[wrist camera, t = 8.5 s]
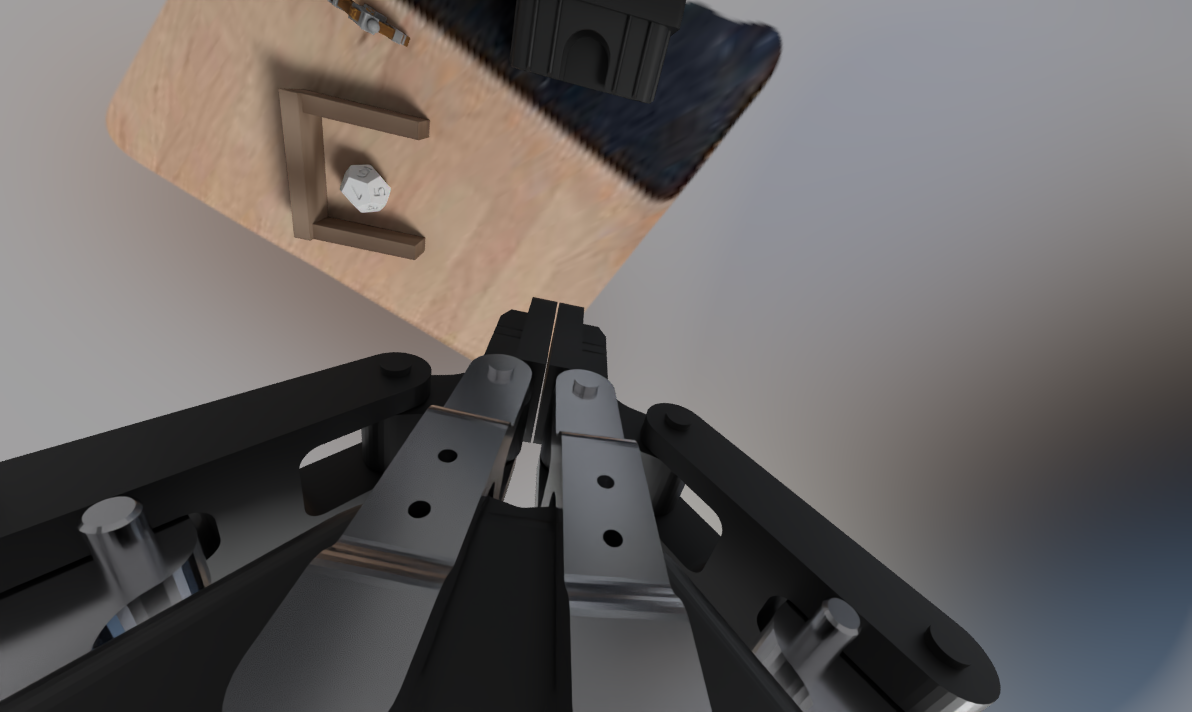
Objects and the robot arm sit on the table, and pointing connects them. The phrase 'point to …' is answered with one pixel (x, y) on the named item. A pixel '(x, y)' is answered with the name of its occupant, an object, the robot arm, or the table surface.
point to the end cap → (596, 42)
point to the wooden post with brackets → (370, 20)
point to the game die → (365, 188)
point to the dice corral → (309, 169)
